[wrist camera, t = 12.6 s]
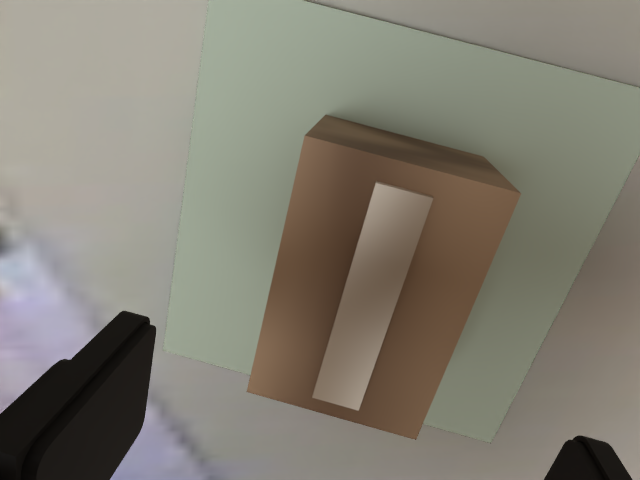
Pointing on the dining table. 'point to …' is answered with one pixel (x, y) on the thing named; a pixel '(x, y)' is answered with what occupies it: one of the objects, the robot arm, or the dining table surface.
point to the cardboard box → (377, 273)
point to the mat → (406, 119)
